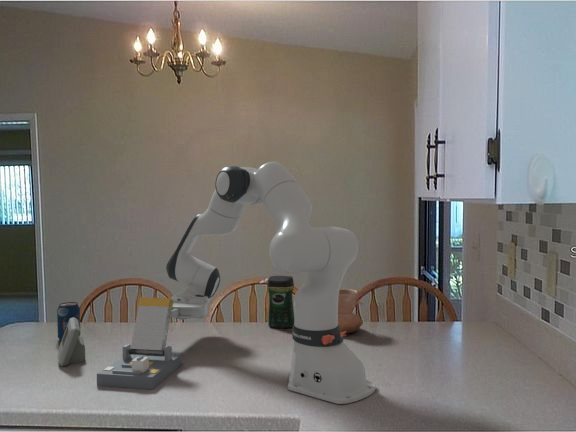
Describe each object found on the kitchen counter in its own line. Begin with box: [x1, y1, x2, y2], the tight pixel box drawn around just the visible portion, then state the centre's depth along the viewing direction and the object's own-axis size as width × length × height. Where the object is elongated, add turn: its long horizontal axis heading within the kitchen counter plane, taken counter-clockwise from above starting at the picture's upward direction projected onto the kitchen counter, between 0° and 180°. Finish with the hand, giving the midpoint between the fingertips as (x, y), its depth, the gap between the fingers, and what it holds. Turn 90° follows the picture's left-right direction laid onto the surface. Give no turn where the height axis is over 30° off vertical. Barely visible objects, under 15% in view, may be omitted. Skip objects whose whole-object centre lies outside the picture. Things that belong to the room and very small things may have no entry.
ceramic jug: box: [338, 288, 365, 335], centre depth 163 cm, size 18×14×14 cm
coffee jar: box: [266, 275, 295, 329], centre depth 170 cm, size 10×8×19 cm
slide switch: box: [132, 355, 149, 373], centre depth 118 cm, size 3×3×4 cm
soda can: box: [56, 301, 81, 342], centre depth 157 cm, size 7×7×12 cm
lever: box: [129, 296, 174, 356], centre depth 130 cm, size 3×10×16 cm, turn 79°
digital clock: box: [57, 317, 86, 367], centre depth 137 cm, size 16×9×11 cm, turn 15°
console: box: [96, 343, 183, 390], centre depth 124 cm, size 18×15×6 cm
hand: (164, 315), depth 137 cm, fingers closed
